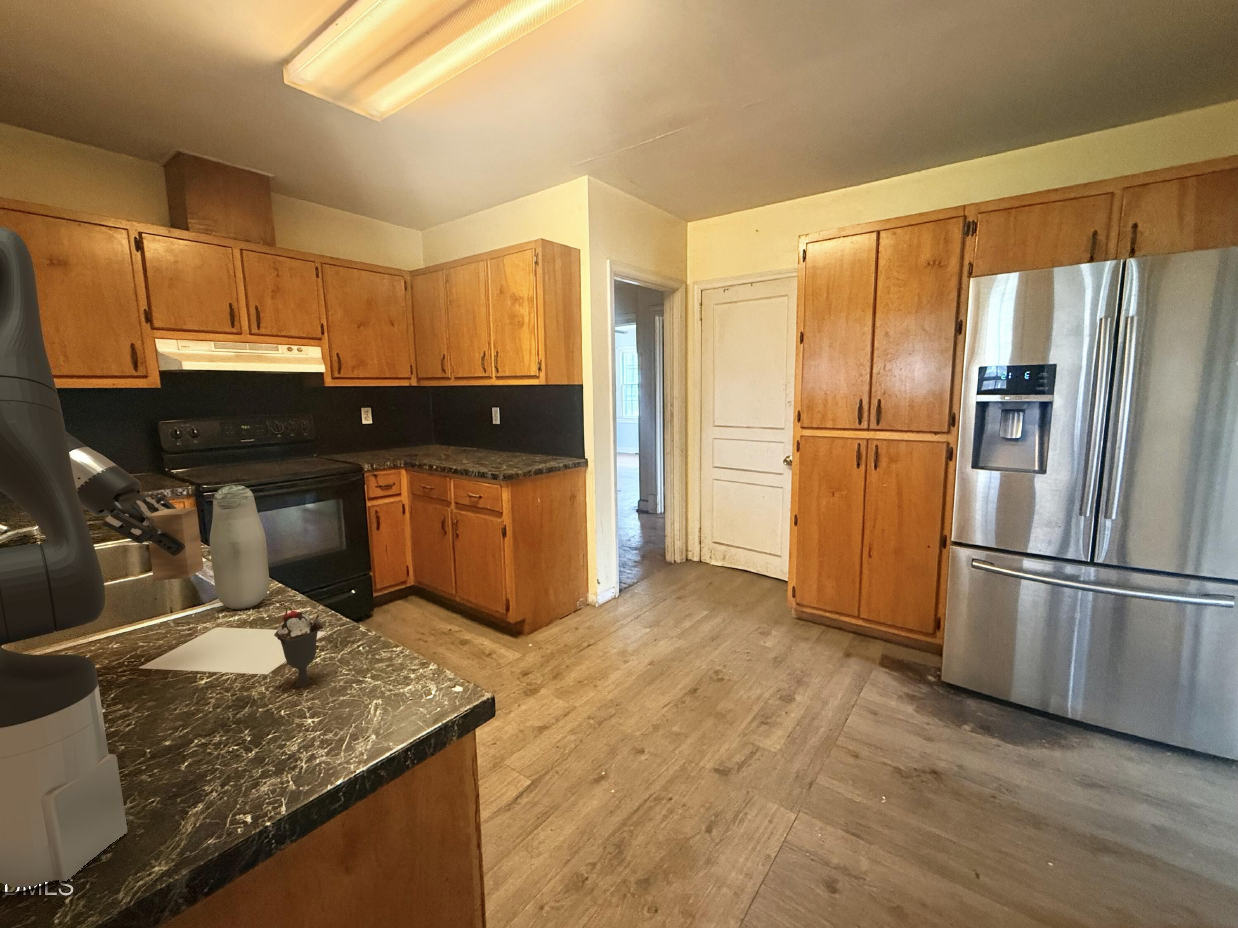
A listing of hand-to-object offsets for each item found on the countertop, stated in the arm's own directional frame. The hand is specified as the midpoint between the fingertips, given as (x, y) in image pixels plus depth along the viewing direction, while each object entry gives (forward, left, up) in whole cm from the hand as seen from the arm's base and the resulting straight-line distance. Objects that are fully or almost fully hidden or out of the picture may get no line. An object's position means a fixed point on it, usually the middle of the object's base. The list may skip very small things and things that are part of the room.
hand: (189, 546), depth 90 cm
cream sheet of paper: (-2, -5, -22) cm, 23 cm away
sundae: (-22, +5, -22) cm, 32 cm away
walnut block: (+2, +1, -5) cm, 5 cm away
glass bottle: (+14, -25, -22) cm, 36 cm away
